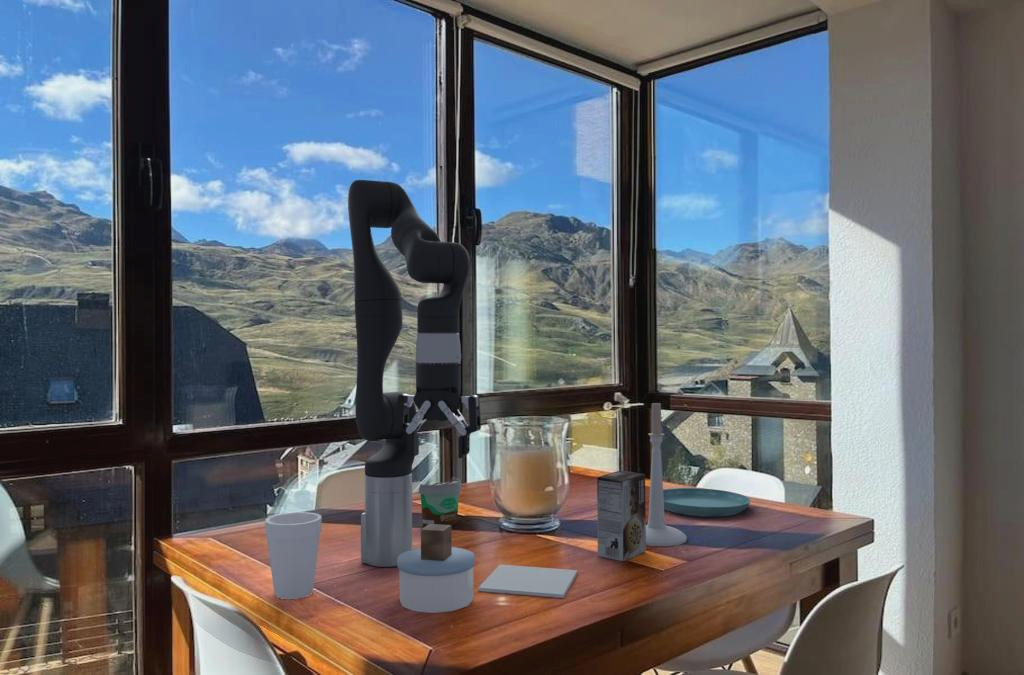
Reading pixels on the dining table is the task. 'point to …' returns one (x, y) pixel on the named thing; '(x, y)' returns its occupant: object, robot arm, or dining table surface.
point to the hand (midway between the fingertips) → (438, 456)
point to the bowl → (436, 592)
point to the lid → (436, 554)
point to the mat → (529, 581)
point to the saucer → (704, 502)
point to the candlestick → (659, 493)
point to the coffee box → (621, 515)
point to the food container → (440, 502)
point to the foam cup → (293, 552)
